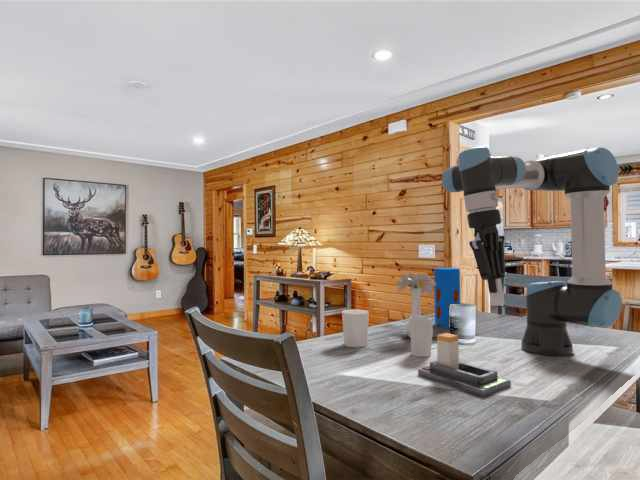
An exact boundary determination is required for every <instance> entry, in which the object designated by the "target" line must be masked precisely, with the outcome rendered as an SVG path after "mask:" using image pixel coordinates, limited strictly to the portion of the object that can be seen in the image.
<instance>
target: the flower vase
mask: <svg viewBox="0 0 640 480" xmlns="http://www.w3.org/2000/svg"><path fill="white" fill-rule="evenodd" d="M400 279H401V280H396V285H397V287H398V288H397V292H398V293H399V292H401V291H402V290H406V287H407V286H408V287H410V288H409V289H410V292H411V294H410V295H411V301H412V302H411V303H412V304H411V306H412V307H411V315H410V317H414V316H422V313H421V312H422V311H421V293H424V292H425V293H427V294H429V295H432V294H433V288H432V287H434V286H435V285H436V283H435V282H434V281H431V275H428V276H426V274H425V273H418V274H416V275H414V273H412V272H409V273H407V275H405V274H404V273H401V275H400ZM403 329H404V332H405V333H406V334H407V336H408V337H409V338H410V339H411V328H410V318H408V320H407V321H406V323H404V327H403Z"/></svg>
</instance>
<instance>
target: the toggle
mask: <svg viewBox="0 0 640 480" xmlns="http://www.w3.org/2000/svg"><path fill="white" fill-rule="evenodd" d="M436 341H437V342H436V343H437V344H436V346H437V347H436V348H437V349H436V352H437V353H436V354H437V356H436V357H437V360H436V361H437V362H438V364H441V365H445V366H448V367H452V368H455V369H459V362H460V361H459V360H460V359H459V358H460V356H459V351H460V350H459V347H460V346H459V335H458V334H453V333H450V332H449V333H448V332H444V333H440V334H436Z"/></svg>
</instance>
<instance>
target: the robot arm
mask: <svg viewBox="0 0 640 480" xmlns="http://www.w3.org/2000/svg"><path fill="white" fill-rule="evenodd" d="M491 155H492V154H491V153H490V149H489V148H488V147H487V146H478V147H471V148H468V149H466V150H463V151H461V152H460V153H458V156H457V159H458V160H457V161H458V165H453V166H451V167H447V168H446V169H445V170H444V171H443V173H442V175H441V184H442V186H443V188H444V189H445V190H446V191H447V192H449V193H460V192H463V198H464V199H463V200H464V207H465V211H466V212H467V213H468V214H467V215H466V216H467V218H466V219H467V223H468V227H469V229H473V231H474V232H473V237H474V239H473V240H469V243H468V244H469V246H470V249H471V250H472V252H473V256H474V258H475V259H474V260H475V262H476V266H477V268H478V272H479V275H480V276H479V277H480V278H481V279H482V280H483V281H487V287H488V292H489V293H488V294H489V299H490V300H489V301H490V304H491V306H494V307H495V306H496V307H497V306H500V307H503V306H505V304H506V303H505V302H506V301H505V298H504V297H505V296H504V289H503V286H502V285H503V284H502V279H501V278H505V276H506V275H505V274H506V264H505V263H506V261H505V241H506V240H505V239H506V237H505V236H504V235H500V234H499V230H498V228H497V225H500V224H501V223H502V218H501V213H500V210H499V209H498V207H499V202H498V201H499V200H498V197H499V195H498V193H497V190H500V189H519V188H521V189H523V190H526V191H543V192H544V191H547V192H549V191H550V192H559V191H560V192H561V191H564V196H565V197H566V198H567V199H569V202H570V203H569V204H570V231H571V232H570V235H571V239H570V242H571V271H572V276H571V277H570V278H569V279H568V280H567V281H564V280H555V281H538V282H531V283H528V284H527V286H526V292H525V293H526V294H525V297H526V301H525V302H526V303H525V305H526V327H525V330H524V333H523V336H522V337H521V341H520V343H521V344H520V345H521V349H522V350H524V351H526V352H528V353H533V354H537V355H543V356H550V357H551V356H555V357H562V356H563V357H564V356H571V355H573V354H574V347H573V343H572V340H571V338H570V335H569V332H568V330H567V323H568V324H575V325H580V326H587V327H590V328H600V329H607V328H611V327H612V326H613V325H614V324H615V323H616V322H617V320H619V317H620V315H621V312H622V307H623V300H622V299H623V298H622V295H621V292H620V291H618V290H616V289H613V282H612V281H611V280H610V279H608V278H607V277H606V276H607V274H606V271H607V269H606V267H607V266H606V239H605V238H606V232H605V231H606V229H605V202H604V201H605V197H607V195H609V194H610V191H611V189H610V188H611V187H610V186H613V185H615V184H616V183H617V182H618V179H619V174H620V173H619V170H620V169H619V166H618V162H617V159H616V158H615V156H614V154H613V153H612V151H610V150H609V149H608V148H606V147H602V146H601V147H592V148H584V149H580V150H575V151H570V152H566V153H560V154H554V155H552V156H547V157H544V158H539V159H537V160H527V161H525V162H524V160H523V159H522V158H520V157H518V156H516V155H515V156H514V155H504V156H503V155H500V156H491Z"/></svg>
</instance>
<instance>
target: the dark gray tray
mask: <svg viewBox="0 0 640 480" xmlns="http://www.w3.org/2000/svg"><path fill="white" fill-rule="evenodd" d="M417 375H418V376H420V377H423V378H426V379H429V380H431V381H432V380H433V381H435V382H438V383H441V384H445V385H447V386H450V387H453V388H455V389H456V388H457V389H459V390H461V391H465V392H468V393H471V394H474V395H477V396H480V397H483V398H484V397H487V396H489V395H492V394H494V393H497V392H500V391H502V390H504V389H507V388H509V387H512V386H511V385H512V384H511V383H512V381H511V379H509V378H505V377H501V376H498V371H495V370H492V369H489V368H485V367H481V366H477V365H473V364H471V363H466V362H462V361H459V369H455V368H452V367H448V366H445V365H441V364H438V362H437V360H435V361H431V362H429V365H427V366H424V367H422V368H419V369H417Z"/></svg>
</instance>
